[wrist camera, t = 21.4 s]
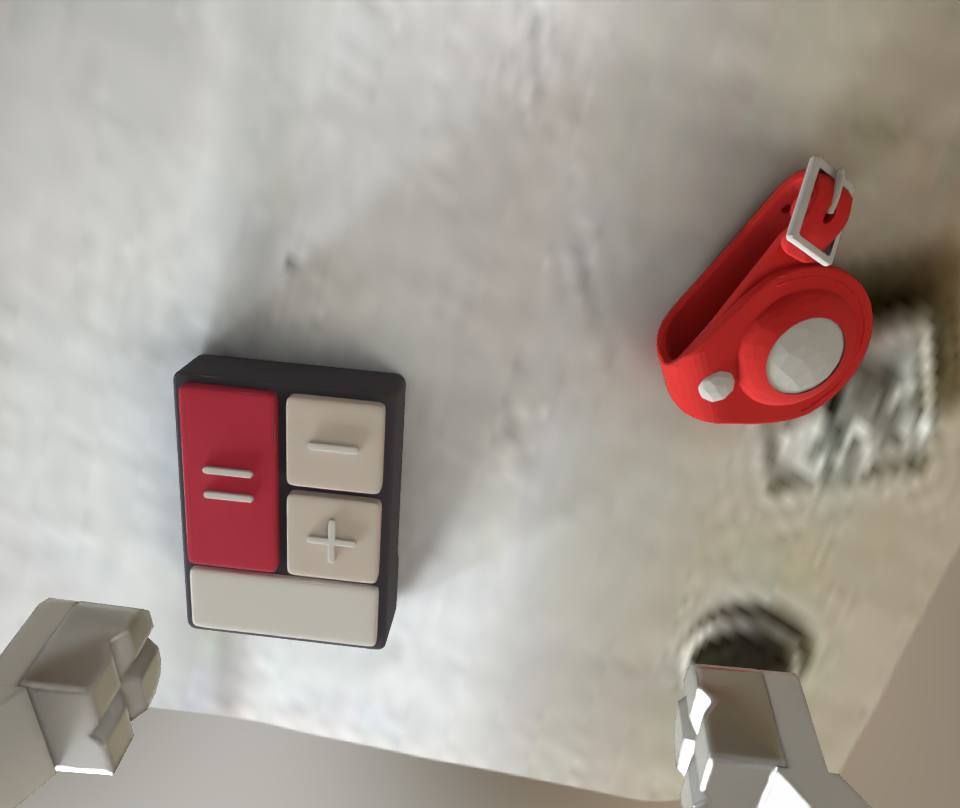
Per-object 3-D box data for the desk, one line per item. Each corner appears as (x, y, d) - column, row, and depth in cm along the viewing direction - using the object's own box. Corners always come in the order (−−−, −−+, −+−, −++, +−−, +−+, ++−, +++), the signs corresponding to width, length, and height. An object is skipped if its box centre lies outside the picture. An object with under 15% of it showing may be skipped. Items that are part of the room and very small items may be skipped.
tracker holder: (903, 389, 39) (711, 478, 39) (847, 347, 43) (671, 428, 43) (881, 152, 32) (649, 260, 32) (817, 126, 36) (608, 223, 36)
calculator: (394, 399, 39) (382, 661, 44) (408, 370, 43) (396, 613, 48) (164, 375, 39) (181, 637, 45) (200, 349, 43) (211, 592, 49)
